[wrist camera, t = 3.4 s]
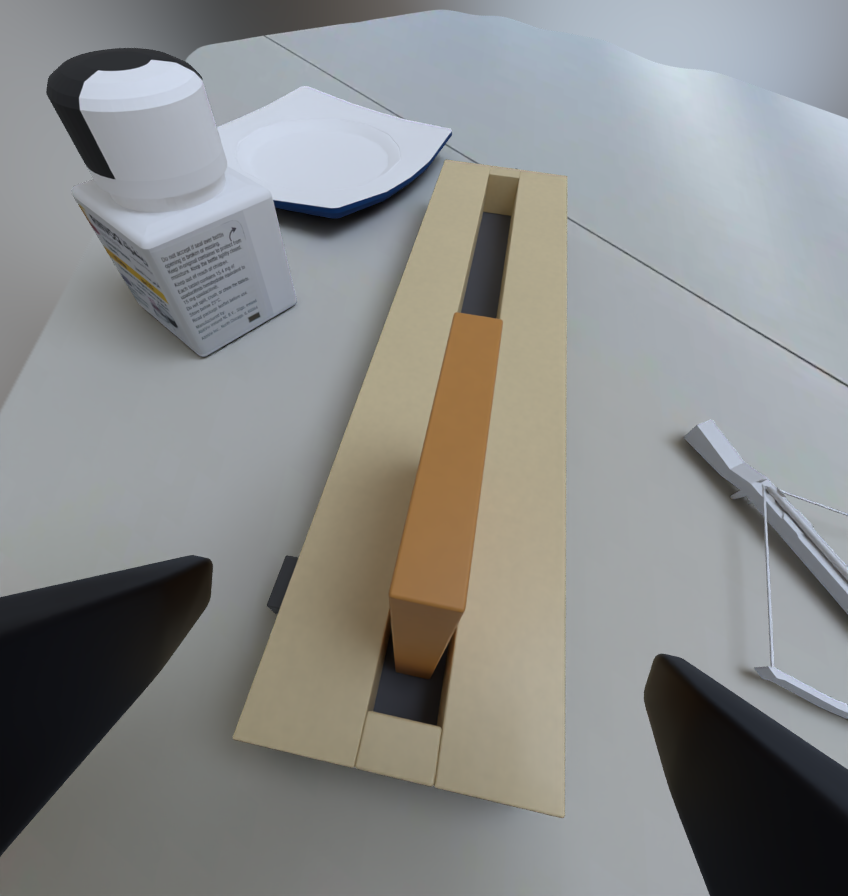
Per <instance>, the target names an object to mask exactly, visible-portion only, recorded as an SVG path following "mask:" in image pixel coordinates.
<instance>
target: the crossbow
mask: <svg viewBox="0 0 848 896" xmlns="http://www.w3.org/2000/svg"><path fill="white" fill-rule="evenodd" d="M684 439H685V440H686V441H687V442H688V443H689V444H690V445H691V446H692V447H693V448H694V449H695V450H696V451H697V452H698V453H699V454H700V455H701V456H702V457H703V458H704V459H705V460H706V461H707V462H708V463H709V464H710V465H711V466H712V467H713V468H714V469H715V470H716V471H717V472H718V473H719V474H720V475H721V476H722V477H724V478H725V479H726V480H728V481H729V482H731V483H732V484H733V485H735V486H736V487H737V488H739V489H740V491H738V492H737V493H735V494H733V495H731V496H730V497H731V498H732V499H737V498H741V497H744V496H747V498H748V499H749V503H748V505H749V504H751V503H753V505H754V506H755V507H756V508H757V509H758V510H759V512H760V513H761V514H762V515H763V516H764V531H765V553H766V574H767V596H768V618H769V640H770V661H771V667H769V666H767V667H756V668H754V669H755V670H756V671H757V673H758V674H759V676H760V677H761V678H762V679H764V680H769V681H772V682H774V683H776V684H778V685H780V686H781V687H783V688H785V689H787V690H789V691H791V692H793V693H794V694H796V695H798V696H800V697H802V698H804V699H806V700H807V701H809V702H811V703H813V704H815V705H817V706H818V707H820V708H822V709H825V710H827V711H829V712H832V713H834V714H836V715H839V716H841V717H843V718H846V719H848V704H846V703H844V702H841V701H839V700H836V699H834V698H832V697H829V696H827V695H825V694H823V693H822V692H820V691H818V690H816V689H814V688H812V687H810V686H808V685H807V684H805V683H803V682H801V681H799V680H797V679H795V678H793V677H792V676H790V675H788V674H786V673H784V672H782V671H780V670H779V669H778V668H774V652H773V632H772V612H771V592H770V572H769V552H768V532H767V521H768V522H769V523H770V524H771V526H772V527H773V528H774V529H775V530H776V531H777V533H778V534H779V535H780V536H781V537H782V538H783V540H784V541H785V542H786V543H787V544H788V545H789V547H790V548H791V549H792V550H793V551H794V552H795V554H796V555H797V556H798V557H799V558H800V559H801V561H802V562H803V563H804V564H805V565H806V566H807V567H808V569H809V570H810V571H811V572H812V573H813V574H814V576H815V577H816V578H817V579H818V580H819V581H820V583H821V584H822V585H823V586H824V587H825V588H826V590H827V591H828V592H829V593H830V594H831V595H832V597H833V598H834V599H835V600H836V601H837V602H838V604H839V605H840V606H841V607H842V608H843V609H844V611H845V612H846V613H847V614H848V566H847V565H846V564H845V563H844V562H843V561H842V560H841V559H840V557H839V556H838V555H837V554H836V553H835V552H834V551H833V550H832V549H831V548H830V546H829V545H828V544H827V543H826V542H825V541H824V540H823V539H822V538H821V536H820V535H819V534H818V533H817V532H816V531H815V530H814V529H813V527H814V526H813V525H812V524H811V523H810V522H809V521H808V520H807V519H806V518H805V517H804V515H803V514H802V513H801V512H800V511H799V510H797V509H795V508H794V507H793V506H792V504H791V503H790V502H789V501H788V500H787V499H786V498H785V496H784V494H787V495H790V496H793V497H795V498H798V499H801V500H804V501H807V502H809V503H812V504H815V505H818V506H821V507H824V508H826V509H829V510H832V511H835V512H838V513H840V514H843V515H846V516H848V514H847V513H844V512H842V511H839V510H836V509H833V508H830V507H827V506H825V505H822V504H819V503H816V502H813V501H810V500H808V499H805V498H802V497H799V496H796V495H794V494H791V493H788V492H785V491H782V490H779V489H778V488H776V487H775V486H774V485H773V483H772V482H771V481H770V480H769V479H768V478H767V477H766V476H765V475H763V474H762V473H760V472H759V471H757V470H756V469H754V468H753V467H751V466H750V465H748V464H747V463H745V462H744V461H743V459H742V458H741V457H740V455H739V454H738V453H737V451H736V450H735V449H734V447H733V446H732V445H731V443H730V442H729V441H728V440H727V438H726V437H725V436H724V434H723V433H722V432H721V430H720V429H719V428H718V426H717V425H716V424H715V423H714V421H713V420H712V419H711V420H708V421H706V422H703V423H701V424H698V425H696V426H695V427H694V428H693V429H692V430H691V431H690V432H689V433H688V434H686V435H685V436H684ZM783 493H784V494H783Z"/></svg>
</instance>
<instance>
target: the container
mask: <svg viewBox="0 0 848 896" xmlns="http://www.w3.org/2000/svg"><path fill="white" fill-rule="evenodd" d="M47 95H48V97H49V99H50V101H51V103H52V105H53V107H54V108H55V110H56V112H57V114H58V115H59V117H60V119H61V121H62V123H63V124H64V126H65V128H66V130H67V132H68V133H69V135H70V137H71V139H72V141H73V143H74V145H75V146H76V148H77V150H78V152H79V154H80V155H81V157H82V159H83V160H84V163H85V164H86V166H87V168H88V170H89V172H90V173H91V175H92V177H93V180H90V181H87V182H84V183H81V184H78V185H75V186H73V187H72V190H71V191H72V194H73V197H74V198H75V200H76V202H77V203H78V205H79V207H80V208H81V210H82V211H83V213H84V215H85V216H86V218H87V220H88V221H89V223H90V225H91V226H92V228H93V230H94V231H95V233H96V235H97V236H98V238H99V239H100V241H101V243H102V244H103V246H104V248H105V249H106V251H107V253H108V254H109V256H110V258H111V259H112V261H113V262H114V264H115V266H116V267H117V269H118V271H119V272H120V274H121V276H122V277H123V279H124V281H125V282H126V284H127V286H128V287H129V289H130V290H131V292H132V294H133V295H134V297H135V299H136V300H137V302H138V304H140V305H141V306H142V307H143V308H144V309H145V310H146V311H148V312H149V313H150V314H151V315H152V316H154V317H155V318H156V319H157V320H158V321H159V322H161V323H162V324H163V325H164V326H165V327H166V328H168V329H169V330H170V331H171V332H172V333H173V334H175V335H176V336H177V337H178V338H179V339H180V340H182V341H183V342H184V343H185V344H186V345H187V346H189V347H190V348H191V349H192V350H193V351H195V352H196V353H197V354H198V355H199V356H207V355H209V354H211V353H213V352H214V351H216V350H218V349H219V348H221V347H223V346H225V345H226V344H228V343H230V342H231V341H233V340H235V339H237V338H238V337H240V336H242V335H244V334H245V333H247V332H249V331H250V330H252V329H254V328H256V327H257V326H259V325H261V324H263V323H264V322H266V321H268V320H269V319H271V318H273V317H275V316H276V315H278V314H280V313H281V312H283V311H285V310H287V309H288V308H290V307H292V306H294V305H295V304H296V302H297V298H296V294H295V290H294V285H293V281H292V277H291V273H290V269H289V264H288V260H287V256H286V252H285V248H284V244H283V239H282V235H281V231H280V227H279V223H278V218H277V214H276V210H275V206H274V202H273V197H272V194H271V192H270V191H269V190H268V189H267V188H265V187H263V186H261V185H260V184H258V183H256V182H254V181H253V180H251V179H249V178H247V177H246V176H244V175H242V174H240V173H239V172H237V171H235V170H233V169H232V168H230V167H228V166H227V159H226V156H225V152H224V149H223V146H222V143H221V139H220V136H219V133H218V129H217V126H216V123H215V119H214V116H213V113H212V109H211V106H210V103H209V100H208V96H207V93H206V90H205V86H204V83H203V80H202V77H201V76H200V74H199V73H198V72H197V71H196V70H195V69H194V68H193V67H192V66H191V65H189V64H188V63H186V62H185V61H183V60H180V59H178V58H176V57H173V56H171V55H169V54H166V53H163V52H160V51H155V50H149V49H138V48H119V49H107V50H100V51H94V52H89V53H85V54H81V55H78V56H76V57H73V58H71V59H69V60H67V61H65V62H64V63H63V64H62V65H61V66H60V67H58V69H56V70H55V71H54V72H53V73H52V74H51V75H50V76H49V78H48V84H47Z"/></svg>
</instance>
